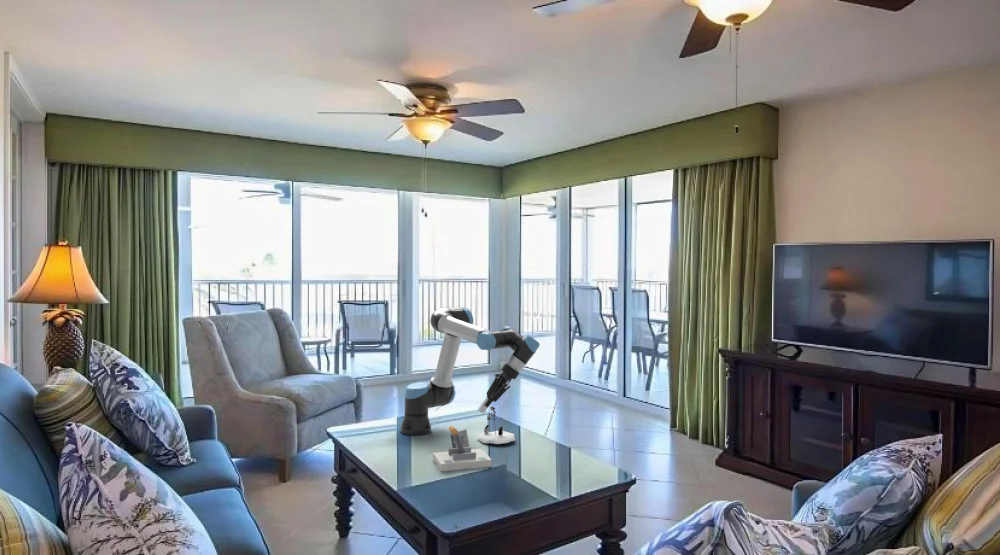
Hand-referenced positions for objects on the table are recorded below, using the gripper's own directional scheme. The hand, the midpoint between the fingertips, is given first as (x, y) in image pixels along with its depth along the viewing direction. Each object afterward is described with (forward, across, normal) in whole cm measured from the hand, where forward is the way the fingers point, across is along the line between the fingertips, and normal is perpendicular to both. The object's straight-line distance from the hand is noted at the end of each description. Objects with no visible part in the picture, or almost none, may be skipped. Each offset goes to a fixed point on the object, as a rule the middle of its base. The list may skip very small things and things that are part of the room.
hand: (480, 411), depth 252 cm
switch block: (+22, -4, -6) cm, 23 cm away
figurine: (+11, +23, -28) cm, 37 cm away
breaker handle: (+18, -3, -3) cm, 19 cm away
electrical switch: (+22, +14, -10) cm, 28 cm away
